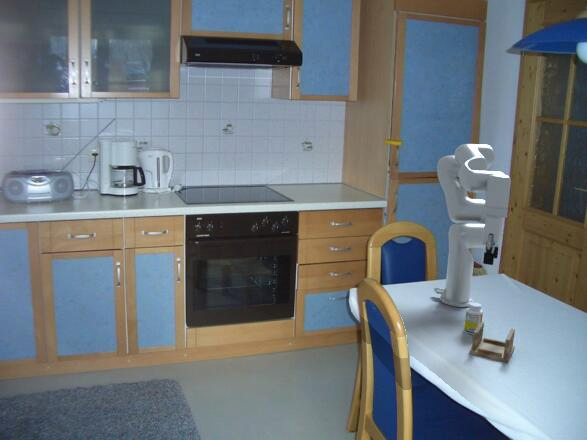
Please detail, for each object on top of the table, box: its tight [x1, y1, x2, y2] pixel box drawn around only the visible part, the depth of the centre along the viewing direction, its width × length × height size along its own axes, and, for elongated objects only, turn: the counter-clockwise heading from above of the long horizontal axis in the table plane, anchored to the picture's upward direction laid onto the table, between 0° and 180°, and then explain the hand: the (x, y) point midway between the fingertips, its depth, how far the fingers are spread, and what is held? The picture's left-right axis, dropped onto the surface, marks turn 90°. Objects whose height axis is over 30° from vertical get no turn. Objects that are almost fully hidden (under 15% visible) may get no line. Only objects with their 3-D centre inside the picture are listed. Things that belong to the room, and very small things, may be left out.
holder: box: [468, 321, 516, 364], centre depth 205 cm, size 12×12×7 cm
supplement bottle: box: [463, 301, 484, 336], centre depth 219 cm, size 6×6×10 cm
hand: (490, 260), depth 216 cm, fingers open, 9 cm apart
